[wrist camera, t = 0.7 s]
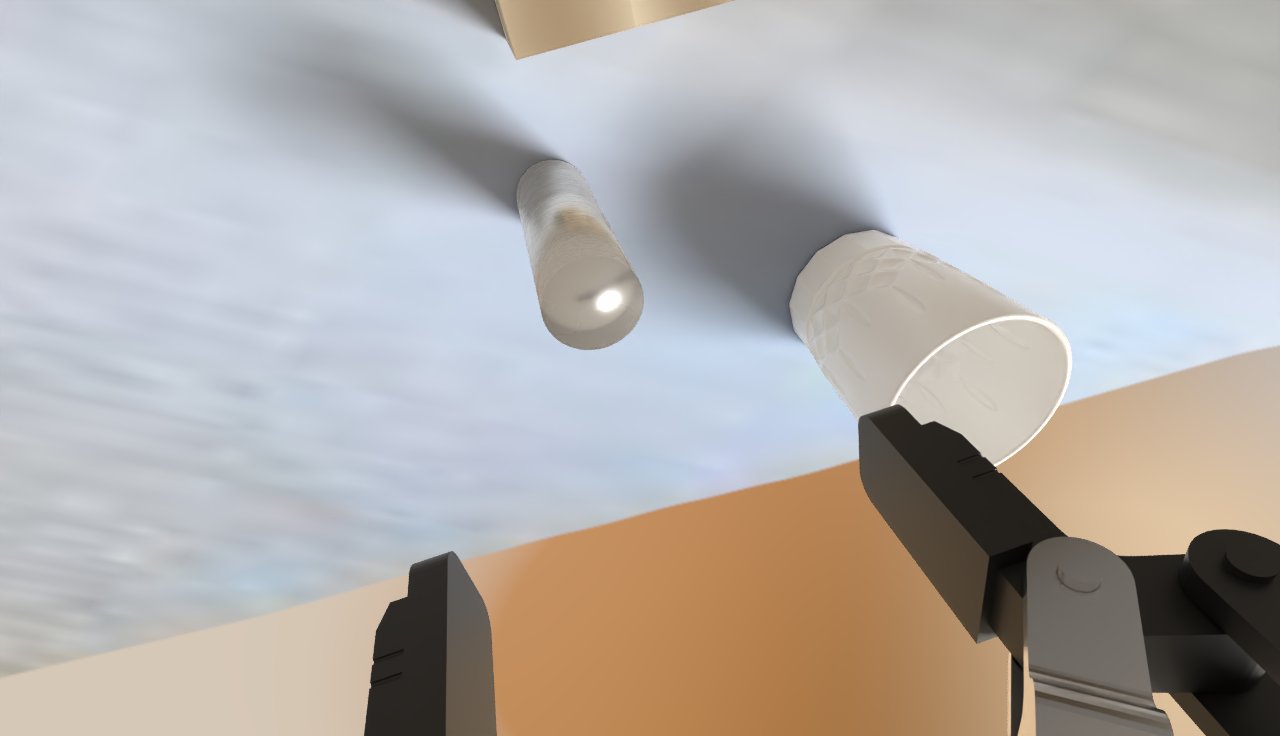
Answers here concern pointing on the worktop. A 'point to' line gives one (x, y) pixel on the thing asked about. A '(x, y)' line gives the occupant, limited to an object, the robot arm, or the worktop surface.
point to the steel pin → (576, 259)
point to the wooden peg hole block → (581, 20)
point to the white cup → (929, 342)
